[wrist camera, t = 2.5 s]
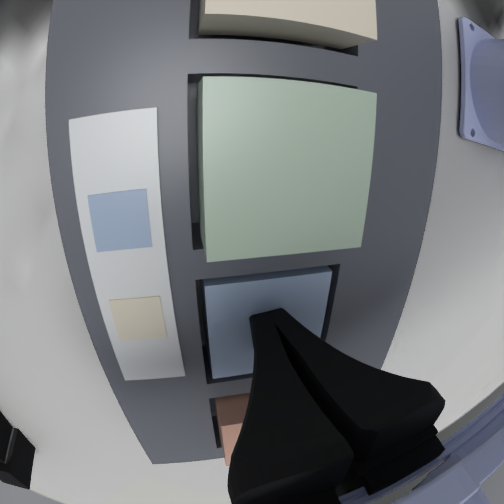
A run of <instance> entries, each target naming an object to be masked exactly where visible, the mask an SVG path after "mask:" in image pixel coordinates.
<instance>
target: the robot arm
mask: <svg viewBox="0 0 504 504" xmlns="http://www.w3.org/2000/svg"><path fill="white" fill-rule="evenodd" d="M458 23H459V33H460V48H461V113H460V128H459V131H460V135H461V137H462V138H464V139H467V140H471V141H474V142H477V143H480V144H484V145H487V146H490V147H493V148H496V149H499V150H502V151H504V39H495V38H494V37H492V36H491V35H490V34H489V33H487V32H486V31H485V30H483V29H482V28H480V27H479V26H478V25H476V24H475V23H473V22H472V21H470V20H469V19H468V18H466V17H460V18H459V20H458ZM249 322H250V329H251V335H252V342H253V348H254V364H253V376H252V384H251V391H250V396H249V401H248V406H247V410H246V414H245V417H244V421H243V424H242V427H241V431H240V434H239V437H238V439H237V442H236V444H235V447H234V450H233V452H232V455H231V461H230V467H229V474H228V492H229V496H230V499H231V503H232V504H370V503H372V502H374V501H376V500H378V499H380V498H382V497H384V496H386V495H388V494H390V493H392V492H394V491H396V490H398V489H399V488H401V487H403V486H405V485H406V484H408V483H410V482H412V481H413V480H415V479H416V478H418V477H420V476H422V475H423V474H425V473H426V472H428V471H429V470H431V469H433V468H434V467H435V466H437V465H438V464H440V463H441V464H440V465H439V466H438V467H436V468H435V469H434V470H432V471H431V472H430V473H429V474H428V475H427V477H426V478H425V479H424V480H423V481H421V482H420V483H419V484H418V485H417V486H415V487H414V488H413V489H412V492H410V493H408V494H406V495H405V496H403V497H401V498H399V499H398V500H396V501H394V502H392V503H390V504H491V503H490V501H489V500H488V498H487V497H486V495H485V493H484V492H483V491H482V489H481V488H480V484H481V483H482V482H483V481H485V480H486V479H487V478H488V477H489V476H490V475H491V474H492V473H493V472H494V471H495V470H496V469H497V468H498V467H499V466H500V465H501V464H502V463H503V462H504V394H503V395H502V396H501V397H499V398H498V399H497V400H496V401H495V402H494V403H493V404H491V405H490V406H489V407H488V408H487V409H486V410H484V411H483V412H482V413H481V414H480V415H478V416H477V417H476V418H475V419H473V420H472V421H471V422H470V423H468V424H467V425H466V426H464V427H463V428H462V429H460V430H459V431H458V432H456V433H455V434H453V435H452V436H450V437H449V438H448V439H446V440H445V441H443V442H442V443H441V442H440V441H439V439H438V438H437V436H436V434H437V433H438V430H437V429H436V428H435V426H434V423H435V422H436V420H437V418H438V417H439V415H440V414H441V412H442V410H443V408H444V406H445V400H444V399H443V397H442V396H441V395H440V394H439V392H438V391H437V390H436V389H435V388H434V387H433V386H432V385H431V383H430V382H426V381H421V380H416V379H411V378H406V377H402V376H399V375H395V374H392V373H388V372H385V371H383V370H380V369H377V368H375V367H372V366H370V365H367V364H365V363H362V362H360V361H358V360H356V359H354V358H352V357H350V356H348V355H346V354H344V353H343V352H341V351H339V350H338V349H336V348H334V347H333V346H331V345H330V344H328V343H326V342H325V341H324V340H322V339H321V338H319V337H318V336H317V335H315V334H314V333H312V332H311V331H310V330H308V329H307V328H306V327H305V326H303V325H302V324H301V323H300V322H298V321H297V320H296V319H295V318H294V317H293V316H291V315H290V314H289V313H288V312H287V311H286V310H285V309H283V308H278V309H274V310H270V311H266V312H262V313H258V314H254V315H251V316H250V317H249ZM444 460H445V461H444ZM443 461H444V462H443ZM442 462H443V463H442Z"/></svg>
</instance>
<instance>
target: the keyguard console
mask: <svg viewBox="0 0 504 504" xmlns="http://www.w3.org/2000/svg"><path fill="white" fill-rule="evenodd" d="M199 2H200V0H53V5H52V11H51V18H50V26H49V35H48V45H47V58H46V82H45V108H46V132H47V146H48V158H49V167H50V175H51V183H52V190H53V197H54V203H55V209H56V214H57V219H58V225H59V229H60V234H61V239H62V243H63V248H64V252H65V256H66V260H67V264H68V268H69V272H70V275H71V279H72V282H73V286H74V289H75V293H76V296H77V299H78V302H79V305H80V308H81V312H82V315H83V317H84V320H85V323H86V326H87V329H88V332H89V334H90V337H91V340H92V342H93V345H94V348H95V350H96V353H97V355H98V358H99V360H100V362H101V365H102V367H103V370H104V372H105V374H106V377H107V379H108V381H109V383H110V385H111V388H112V390H113V392H114V394H115V396H116V398H117V400H118V402H119V404H120V406H121V408H122V410H123V412H124V414H125V416H126V418H127V420H128V422H129V424H130V426H131V428H132V429H133V431H134V433H135V435H136V437H137V438H138V440H139V442H140V444H141V445H142V447H143V449H144V451H145V452H146V454H147V456H148V457H149V459H150V460H151V462H152V464H165V463H180V462H191V461H200V460H209V459H216V458H223V457H224V454H223V450H222V446H221V441H220V437H219V429H218V422H217V415H216V407H215V399H214V398H217V397H224V396H231V395H237V394H243V393H249V392H250V391H251V384H252V376H253V373H249V374H243V375H236V376H229V377H222V378H215V379H213V376H212V372H211V367H210V362H209V357H208V352H207V346H206V337H205V326H204V316H203V305H202V293H201V280H200V279H210V278H220V277H229V276H239V275H248V274H257V273H266V272H275V271H284V270H293V269H301V268H310V267H318V266H326V265H327V266H328V267H329V268H330V269H331V270H332V276H331V283H330V289H329V294H328V300H327V306H326V311H325V317H324V322H323V327H322V332H321V337H320V338H321V339H322V340H324V341H325V342H326V343H328V344H330V345H331V346H333V347H334V348H336V349H338V350H339V351H341V352H343V353H344V354H346V355H348V356H350V357H352V358H354V359H356V360H358V361H360V362H362V363H365V364H367V365H370V366H372V367H375V368H377V369H380V370H381V367H382V365H383V363H384V360H385V358H386V355H387V353H388V350H389V347H390V345H391V342H392V340H393V337H394V334H395V331H396V329H397V326H398V323H399V320H400V317H401V314H402V311H403V308H404V305H405V302H406V299H407V295H408V292H409V289H410V285H411V282H412V279H413V275H414V271H415V268H416V264H417V260H418V256H419V252H420V248H421V244H422V240H423V235H424V231H425V226H426V222H427V217H428V212H429V206H430V201H431V195H432V189H433V183H434V176H435V169H436V162H437V153H438V144H439V133H440V121H441V102H442V49H441V32H440V20H439V10H438V2H437V0H375V2H376V19H377V40H376V41H372V42H367V43H363V44H359V45H356V46H352V47H348V48H344V49H338V48H333V47H328V46H323V45H317V44H311V43H305V42H299V41H292V40H284V39H275V38H265V37H254V36H237V35H198V22H199ZM206 76H230V77H259V78H274V79H286V80H297V81H306V82H314V83H322V84H329V85H335V86H341V87H347V88H353V89H358V90H363V91H368V92H373V93H377V104H376V123H375V137H374V149H373V160H372V170H371V179H370V187H369V195H368V203H367V210H366V217H365V224H364V230H363V236H362V242H361V247H357V248H348V249H338V250H328V251H318V252H308V253H298V254H288V255H277V256H267V257H257V258H247V259H236V260H226V261H215V262H207V261H206V256H205V252H204V248H203V244H202V240H201V236H200V223H199V201H198V172H197V84H198V83H199V81H200V80H201V79H202V77H206Z"/></svg>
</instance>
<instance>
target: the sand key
mask: <svg viewBox="0 0 504 504" xmlns="http://www.w3.org/2000/svg"><path fill="white" fill-rule="evenodd" d="M198 35H237V36H254V37H265V38H275V39H284V40H292V41H299V42H305V43H311V44H317V45H323V46H328V47H333V48H338V49H344V48H348V47H352V46H356V45H359V44H363V43H367V42H372V41H376V40H377V19H376V2H375V0H200V2H199V22H198Z"/></svg>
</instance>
